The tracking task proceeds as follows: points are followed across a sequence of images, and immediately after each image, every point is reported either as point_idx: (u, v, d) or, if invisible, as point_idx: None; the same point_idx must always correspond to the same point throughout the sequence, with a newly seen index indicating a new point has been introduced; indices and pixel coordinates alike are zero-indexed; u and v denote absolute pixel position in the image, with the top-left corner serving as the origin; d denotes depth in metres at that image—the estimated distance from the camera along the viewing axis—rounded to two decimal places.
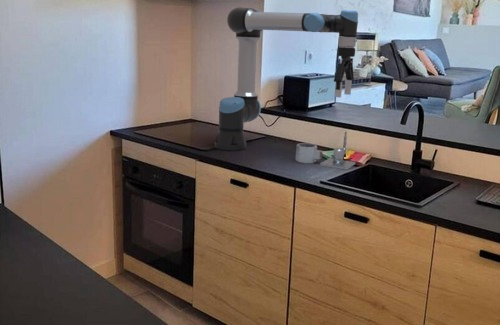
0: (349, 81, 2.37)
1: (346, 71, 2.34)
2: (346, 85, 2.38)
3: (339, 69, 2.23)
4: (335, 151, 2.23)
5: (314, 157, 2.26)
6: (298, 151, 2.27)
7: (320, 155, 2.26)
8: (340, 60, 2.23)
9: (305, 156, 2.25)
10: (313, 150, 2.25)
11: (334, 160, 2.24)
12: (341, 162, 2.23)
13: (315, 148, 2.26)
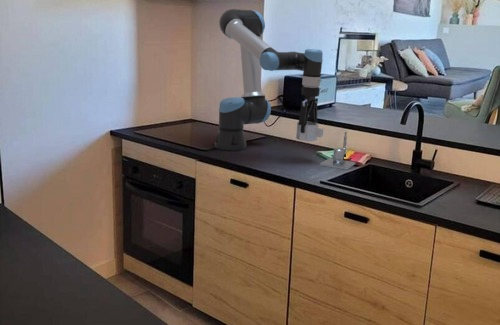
0: None
1: (310, 111, 2.28)
2: None
3: (303, 112, 2.19)
4: (335, 151, 2.23)
5: (315, 135, 2.24)
6: (299, 129, 2.25)
7: (321, 133, 2.24)
8: (303, 103, 2.18)
9: (306, 134, 2.23)
10: (314, 128, 2.23)
11: (334, 160, 2.24)
12: (341, 162, 2.23)
13: (316, 126, 2.24)
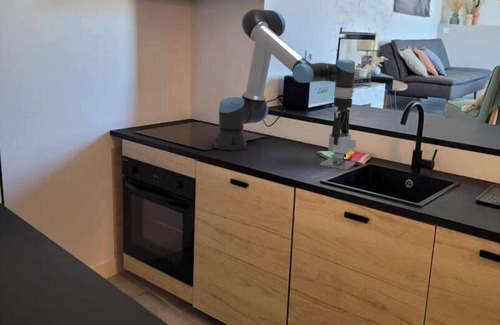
0: None
1: (342, 123, 2.24)
2: None
3: (336, 124, 2.15)
4: None
5: (348, 147, 2.20)
6: (331, 140, 2.21)
7: (354, 144, 2.20)
8: (336, 115, 2.14)
9: (339, 145, 2.19)
10: (347, 139, 2.19)
11: (334, 160, 2.24)
12: (341, 162, 2.23)
13: (349, 137, 2.20)
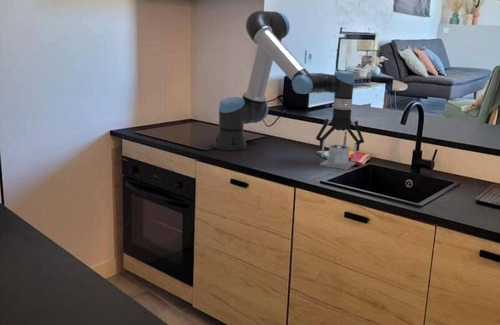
0: (354, 145, 2.22)
1: None
2: (354, 148, 2.24)
3: (321, 128, 2.23)
4: None
5: (334, 159, 2.21)
6: None
7: (338, 158, 2.18)
8: (325, 120, 2.22)
9: None
10: (334, 151, 2.20)
11: None
12: None
13: (338, 150, 2.20)
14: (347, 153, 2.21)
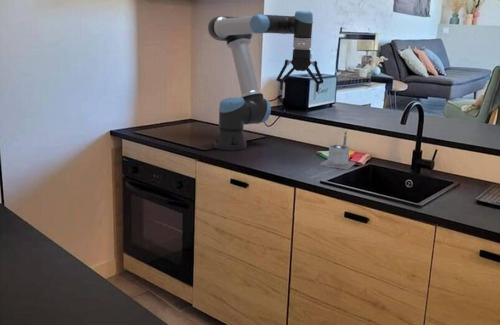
0: None
1: None
2: None
3: None
4: None
5: (334, 159, 2.21)
6: None
7: (338, 158, 2.18)
8: (285, 61, 2.25)
9: None
10: (334, 151, 2.20)
11: None
12: None
13: (338, 150, 2.20)
14: (347, 153, 2.21)
